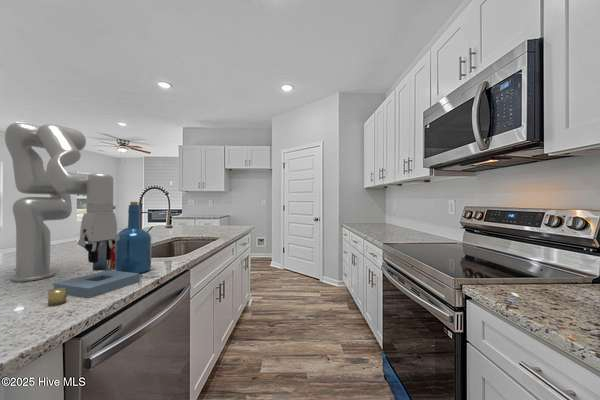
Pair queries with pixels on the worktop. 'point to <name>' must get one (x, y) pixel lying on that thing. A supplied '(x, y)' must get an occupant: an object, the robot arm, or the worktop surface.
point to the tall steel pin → (101, 256)
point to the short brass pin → (57, 297)
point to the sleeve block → (98, 283)
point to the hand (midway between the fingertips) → (99, 260)
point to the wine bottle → (133, 245)
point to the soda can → (112, 261)
